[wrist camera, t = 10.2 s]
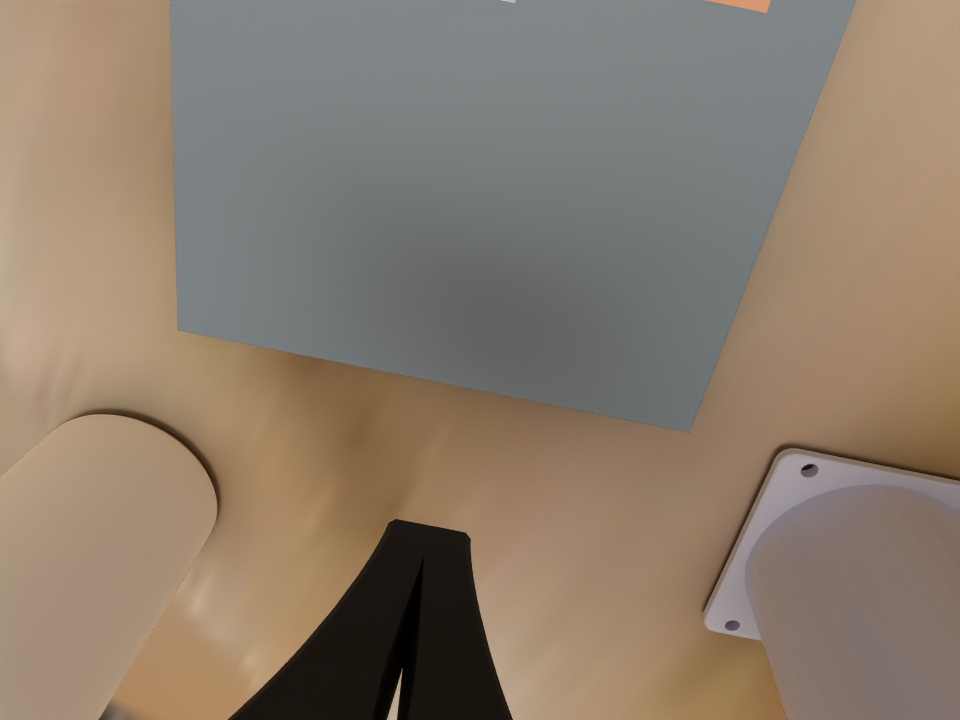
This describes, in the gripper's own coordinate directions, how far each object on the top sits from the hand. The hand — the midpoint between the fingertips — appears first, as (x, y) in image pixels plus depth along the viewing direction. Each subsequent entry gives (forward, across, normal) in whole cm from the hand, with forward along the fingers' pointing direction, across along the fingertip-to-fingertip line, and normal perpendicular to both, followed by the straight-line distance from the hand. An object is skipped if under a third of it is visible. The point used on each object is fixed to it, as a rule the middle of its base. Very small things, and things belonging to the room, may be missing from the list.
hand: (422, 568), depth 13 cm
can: (+11, +11, +9) cm, 18 cm away
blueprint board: (+10, +1, -7) cm, 13 cm away
